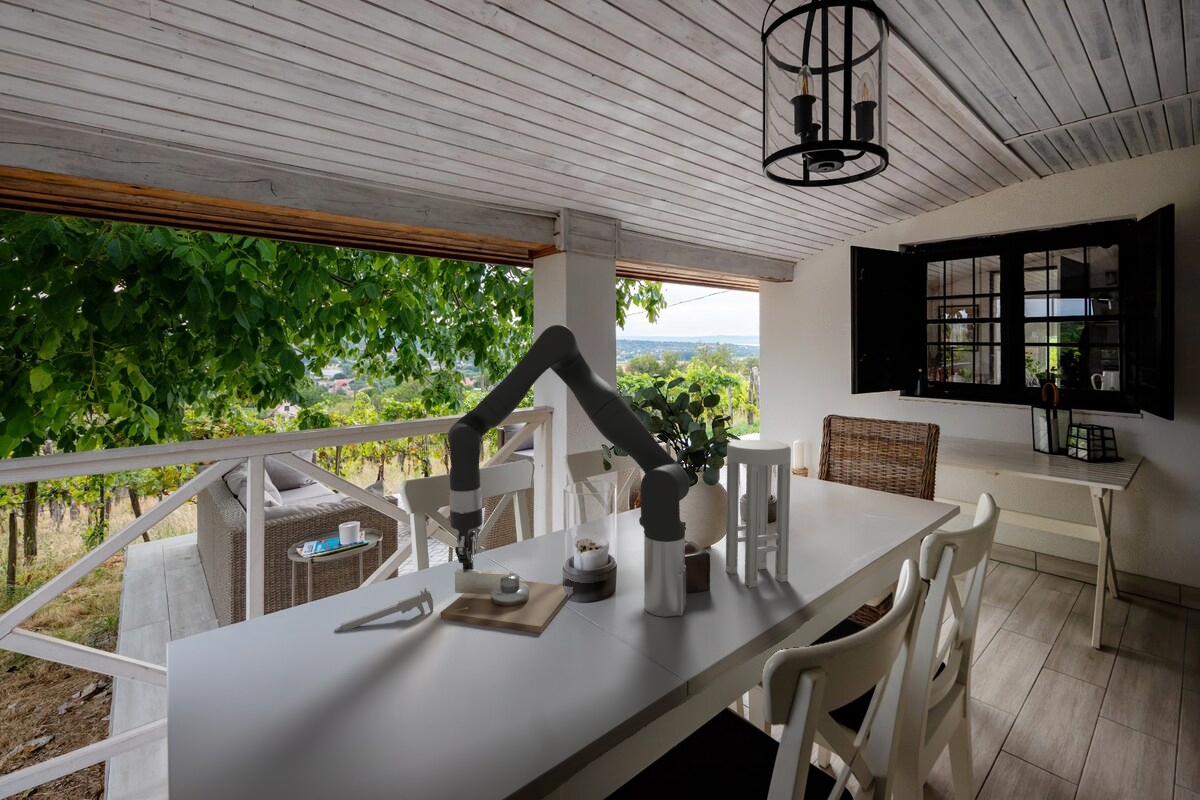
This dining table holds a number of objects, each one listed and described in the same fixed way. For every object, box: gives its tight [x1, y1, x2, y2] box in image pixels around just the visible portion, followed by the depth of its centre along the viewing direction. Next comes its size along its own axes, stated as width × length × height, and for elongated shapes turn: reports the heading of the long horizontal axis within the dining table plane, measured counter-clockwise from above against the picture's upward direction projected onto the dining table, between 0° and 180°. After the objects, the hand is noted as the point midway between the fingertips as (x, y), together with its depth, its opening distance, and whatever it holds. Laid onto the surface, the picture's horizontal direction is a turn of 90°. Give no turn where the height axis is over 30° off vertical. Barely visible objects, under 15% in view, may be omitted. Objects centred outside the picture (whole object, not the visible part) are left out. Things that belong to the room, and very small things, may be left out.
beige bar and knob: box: [454, 568, 530, 606], centre depth 134 cm, size 18×9×6 cm, turn 83°
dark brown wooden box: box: [638, 516, 711, 595], centre depth 143 cm, size 16×11×18 cm
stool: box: [725, 439, 792, 588], centre depth 148 cm, size 16×16×35 cm
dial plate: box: [439, 579, 569, 634], centre depth 134 cm, size 24×21×2 cm
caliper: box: [334, 586, 434, 633], centre depth 126 cm, size 20×1×6 cm, turn 115°
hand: (468, 576), depth 138 cm, fingers closed
